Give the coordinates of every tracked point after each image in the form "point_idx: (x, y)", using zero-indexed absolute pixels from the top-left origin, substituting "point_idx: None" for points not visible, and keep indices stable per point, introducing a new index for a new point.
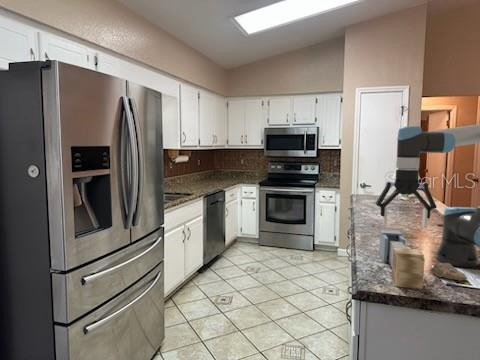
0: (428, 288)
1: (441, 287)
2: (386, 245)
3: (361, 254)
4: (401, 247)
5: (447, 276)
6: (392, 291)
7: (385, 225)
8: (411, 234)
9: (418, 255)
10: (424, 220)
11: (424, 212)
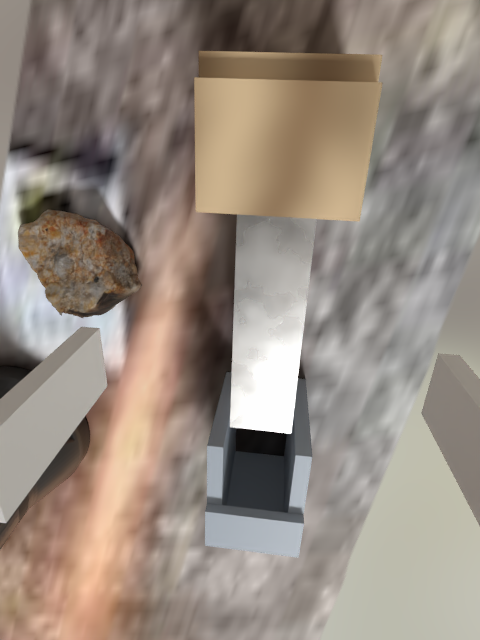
0: None
1: (140, 124)
2: (301, 427)
3: (373, 449)
4: (261, 334)
5: (90, 221)
6: (391, 4)
7: (448, 354)
8: (123, 632)
9: (230, 79)
10: (65, 367)
11: (14, 440)
